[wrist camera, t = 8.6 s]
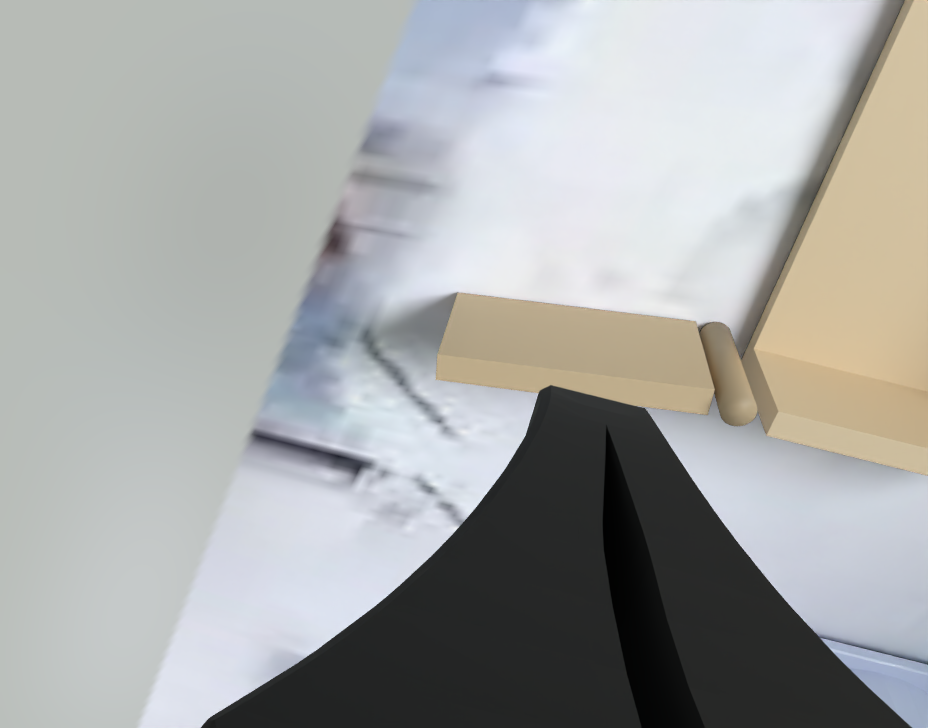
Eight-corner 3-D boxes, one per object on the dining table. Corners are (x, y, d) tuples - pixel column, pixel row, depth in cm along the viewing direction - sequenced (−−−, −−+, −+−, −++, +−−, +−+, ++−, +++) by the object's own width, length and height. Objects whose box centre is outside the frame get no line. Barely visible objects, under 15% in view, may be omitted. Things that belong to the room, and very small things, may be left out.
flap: (734, 323, 18) (762, 398, 15) (726, 351, 18) (752, 428, 16) (458, 290, 18) (436, 356, 16) (456, 317, 19) (433, 386, 16)
